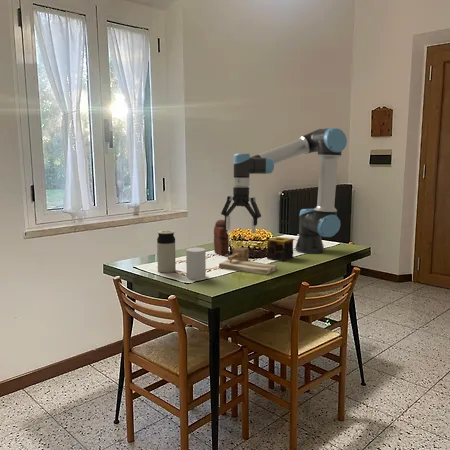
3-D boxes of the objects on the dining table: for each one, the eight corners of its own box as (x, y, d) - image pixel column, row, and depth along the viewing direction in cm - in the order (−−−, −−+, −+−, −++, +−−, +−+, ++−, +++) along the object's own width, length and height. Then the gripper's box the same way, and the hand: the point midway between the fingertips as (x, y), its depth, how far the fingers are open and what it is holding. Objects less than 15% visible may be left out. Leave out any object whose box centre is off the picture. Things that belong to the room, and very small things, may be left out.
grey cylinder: (191, 273, 200) (191, 247, 198) (208, 275, 197) (208, 248, 195) (183, 278, 193) (183, 250, 191) (200, 280, 190) (200, 252, 188)
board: (230, 262, 220) (230, 258, 219) (276, 269, 208) (276, 265, 208) (219, 267, 210) (219, 263, 210) (266, 274, 199) (266, 270, 198)
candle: (283, 261, 222) (284, 241, 221) (266, 259, 229) (266, 239, 227) (293, 258, 231) (294, 238, 229) (276, 255, 237) (276, 236, 235)
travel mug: (178, 269, 207) (178, 230, 204) (170, 273, 200) (170, 233, 197) (162, 267, 210) (162, 229, 207) (154, 272, 203) (153, 232, 200)
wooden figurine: (231, 255, 236) (232, 220, 233) (220, 256, 233) (220, 221, 231) (222, 250, 247) (222, 217, 244) (211, 251, 244) (211, 218, 241)
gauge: (237, 261, 224) (237, 247, 223) (248, 262, 221) (248, 248, 220) (224, 267, 212) (224, 252, 211) (235, 268, 209) (235, 253, 208)
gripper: (214, 185, 217) (214, 229, 220) (262, 188, 205) (261, 234, 208) (222, 184, 223) (221, 227, 227) (268, 187, 212) (267, 232, 215)
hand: (240, 231), depth 218 cm, fingers open, 13 cm apart
